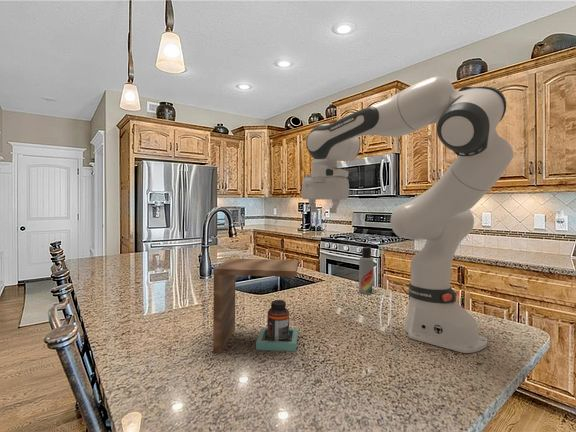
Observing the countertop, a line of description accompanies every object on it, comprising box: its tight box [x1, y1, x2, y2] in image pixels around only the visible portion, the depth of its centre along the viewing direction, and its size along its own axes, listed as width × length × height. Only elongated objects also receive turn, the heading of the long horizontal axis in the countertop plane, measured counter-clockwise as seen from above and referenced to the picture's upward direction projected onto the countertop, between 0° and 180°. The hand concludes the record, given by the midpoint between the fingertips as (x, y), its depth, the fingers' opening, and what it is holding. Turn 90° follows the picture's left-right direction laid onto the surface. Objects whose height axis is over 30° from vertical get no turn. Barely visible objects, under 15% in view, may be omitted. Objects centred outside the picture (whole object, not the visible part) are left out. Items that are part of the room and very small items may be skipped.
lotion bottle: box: [358, 246, 374, 295], centre depth 145 cm, size 6×6×20 cm
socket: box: [255, 326, 299, 352], centre depth 93 cm, size 10×10×2 cm
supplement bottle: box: [266, 299, 290, 342], centre depth 93 cm, size 6×6×11 cm
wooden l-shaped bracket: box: [212, 257, 299, 354], centre depth 93 cm, size 21×16×22 cm
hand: (323, 212), depth 117 cm, fingers open, 8 cm apart
